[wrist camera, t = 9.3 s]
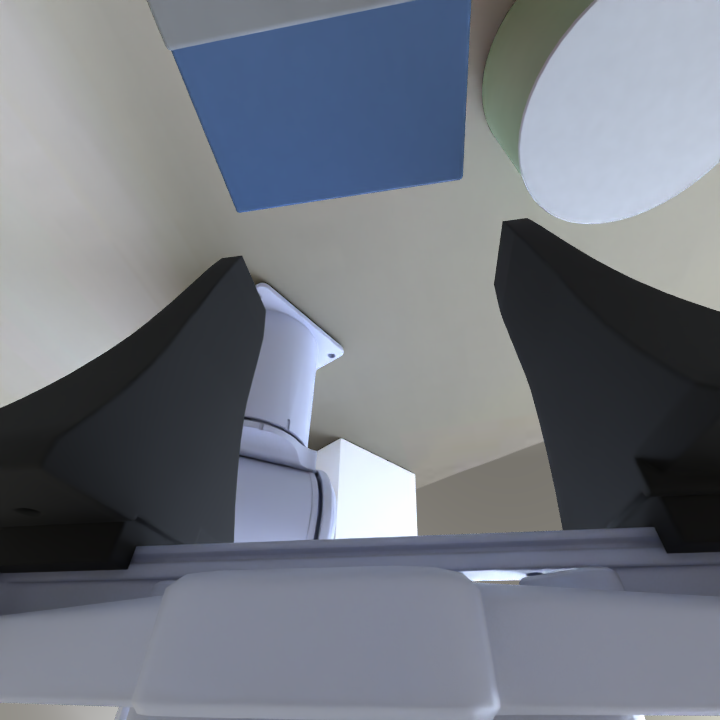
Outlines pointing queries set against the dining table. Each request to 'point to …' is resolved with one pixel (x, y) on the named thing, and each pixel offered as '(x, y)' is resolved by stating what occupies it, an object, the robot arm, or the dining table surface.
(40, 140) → the dining table surface
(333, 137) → the block
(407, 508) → the milk
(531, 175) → the green yogurt
